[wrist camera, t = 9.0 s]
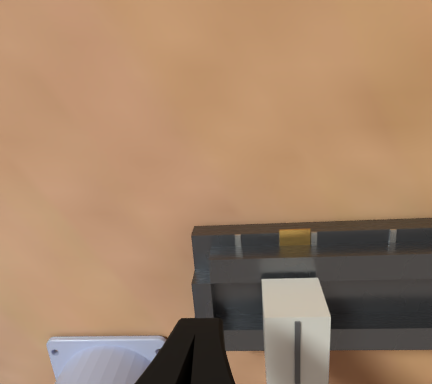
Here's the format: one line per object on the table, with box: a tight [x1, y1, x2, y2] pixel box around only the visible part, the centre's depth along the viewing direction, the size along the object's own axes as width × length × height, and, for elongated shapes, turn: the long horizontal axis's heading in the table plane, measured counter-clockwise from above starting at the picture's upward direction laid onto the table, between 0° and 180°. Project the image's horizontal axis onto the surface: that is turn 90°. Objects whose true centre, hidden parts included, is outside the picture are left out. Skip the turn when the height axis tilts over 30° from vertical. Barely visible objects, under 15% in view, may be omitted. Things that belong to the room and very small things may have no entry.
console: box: [191, 218, 432, 351], centre depth 21 cm, size 8×21×3 cm, turn 94°
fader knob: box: [262, 278, 331, 384], centre depth 19 cm, size 4×3×5 cm
